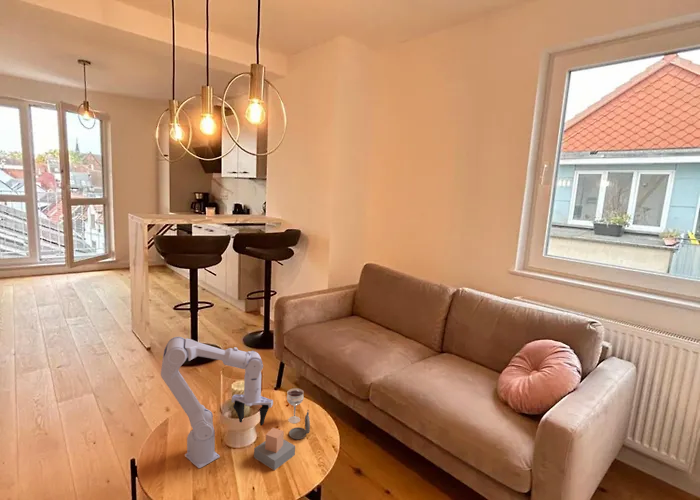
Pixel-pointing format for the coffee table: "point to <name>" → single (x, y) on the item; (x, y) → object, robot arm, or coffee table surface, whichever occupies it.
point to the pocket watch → (301, 429)
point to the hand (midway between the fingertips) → (251, 422)
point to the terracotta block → (274, 440)
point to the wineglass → (295, 402)
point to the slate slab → (274, 454)
